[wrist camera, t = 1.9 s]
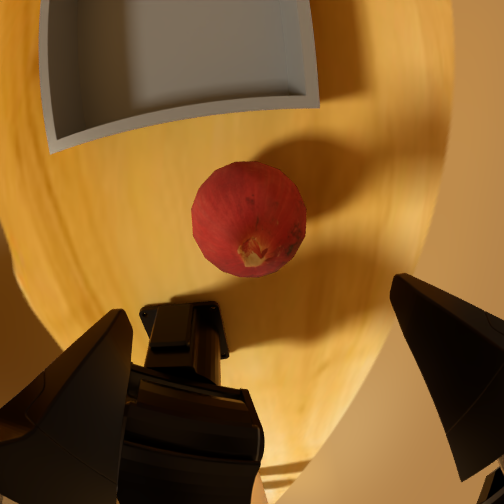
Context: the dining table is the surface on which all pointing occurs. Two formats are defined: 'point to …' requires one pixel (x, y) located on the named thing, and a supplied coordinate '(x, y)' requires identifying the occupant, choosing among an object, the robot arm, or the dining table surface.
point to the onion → (248, 219)
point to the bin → (169, 62)
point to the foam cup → (258, 492)
